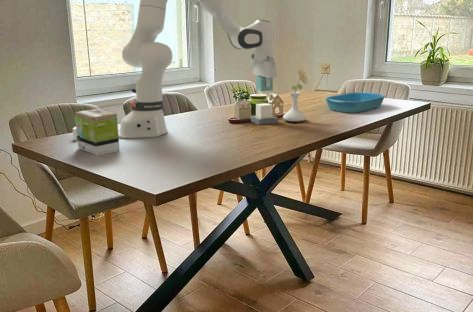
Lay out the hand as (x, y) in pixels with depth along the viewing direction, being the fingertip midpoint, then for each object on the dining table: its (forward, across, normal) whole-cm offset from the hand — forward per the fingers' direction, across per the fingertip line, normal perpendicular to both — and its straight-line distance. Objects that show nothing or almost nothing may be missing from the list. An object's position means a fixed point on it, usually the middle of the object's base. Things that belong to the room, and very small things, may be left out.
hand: (264, 85), depth 230 cm
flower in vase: (+18, -4, -15) cm, 23 cm away
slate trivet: (+17, 0, 0) cm, 17 cm away
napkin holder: (+18, +3, +85) cm, 87 cm away
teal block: (+2, 0, 0) cm, 2 cm away
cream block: (+15, 0, 0) cm, 15 cm away
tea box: (+17, -23, +80) cm, 85 cm away
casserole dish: (+18, +13, -61) cm, 65 cm away
